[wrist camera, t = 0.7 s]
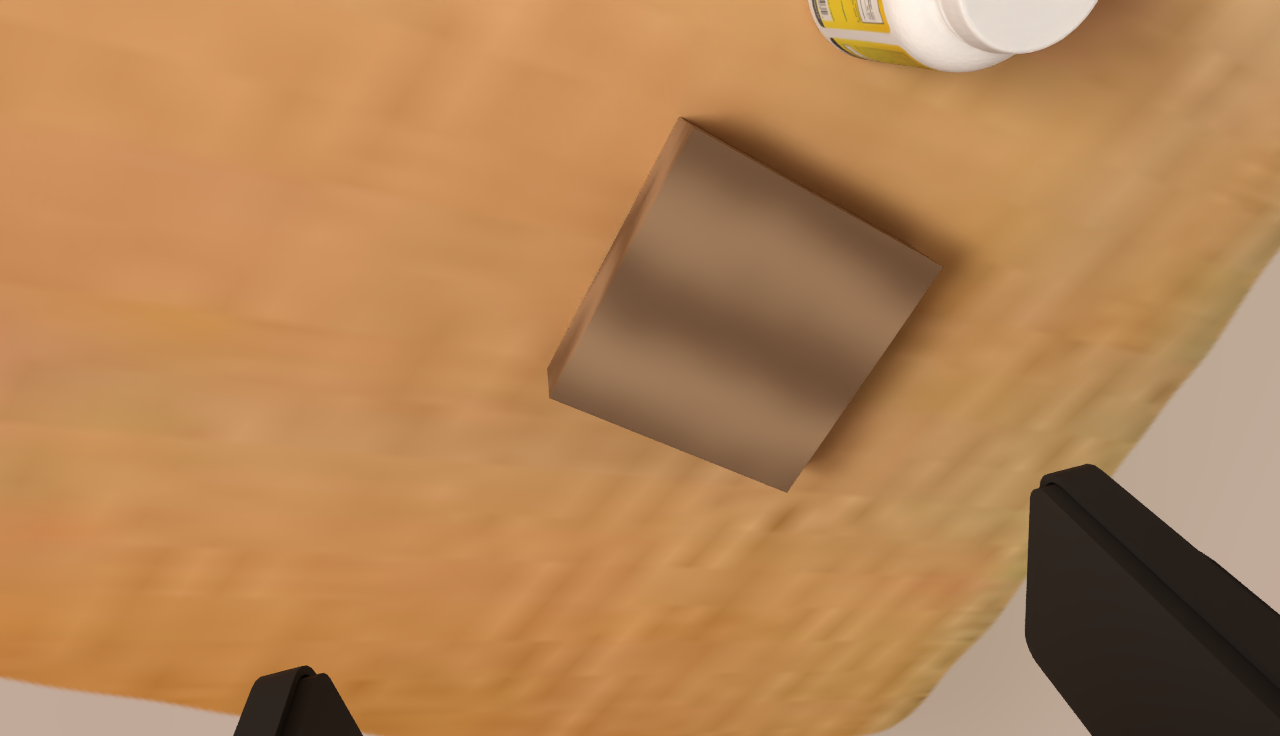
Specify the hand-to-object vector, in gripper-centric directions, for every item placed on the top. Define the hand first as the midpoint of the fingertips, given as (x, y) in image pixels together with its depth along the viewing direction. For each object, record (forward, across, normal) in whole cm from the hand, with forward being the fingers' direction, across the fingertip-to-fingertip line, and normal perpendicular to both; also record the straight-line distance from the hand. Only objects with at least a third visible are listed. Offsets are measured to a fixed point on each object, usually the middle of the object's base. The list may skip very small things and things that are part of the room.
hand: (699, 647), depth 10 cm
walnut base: (+26, -6, +7) cm, 28 cm away
